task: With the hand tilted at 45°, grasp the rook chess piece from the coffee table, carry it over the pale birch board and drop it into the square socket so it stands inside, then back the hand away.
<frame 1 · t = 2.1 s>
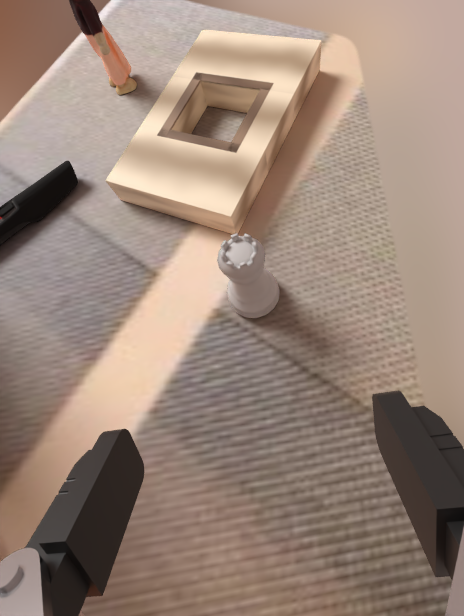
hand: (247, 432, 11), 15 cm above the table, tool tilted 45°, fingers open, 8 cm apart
socket board: (221, 134, 35), on the table
rook chess piece: (254, 296, 28), on the table
grandmother figurine: (122, 83, 42), on the table
electric trimmer: (28, 221, 37), on the table
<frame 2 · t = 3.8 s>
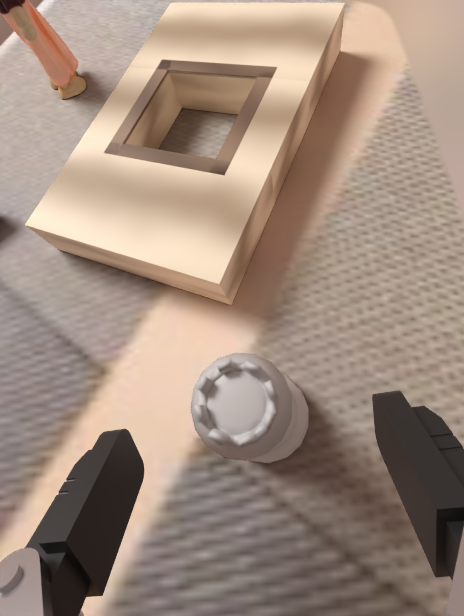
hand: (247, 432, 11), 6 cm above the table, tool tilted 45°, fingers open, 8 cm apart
socket board: (202, 147, 24), on the table
rook chess piece: (265, 414, 17), on the table
grandmother figurine: (68, 84, 31), on the table
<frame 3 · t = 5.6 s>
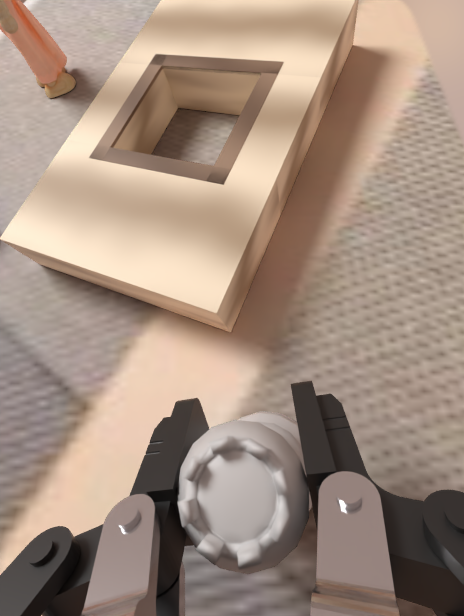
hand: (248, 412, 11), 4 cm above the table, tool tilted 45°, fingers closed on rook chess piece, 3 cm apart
socket board: (200, 151, 22), on the table
rook chess piece: (269, 464, 14), on the table, touching gripper
grandmother figurine: (56, 81, 29), on the table
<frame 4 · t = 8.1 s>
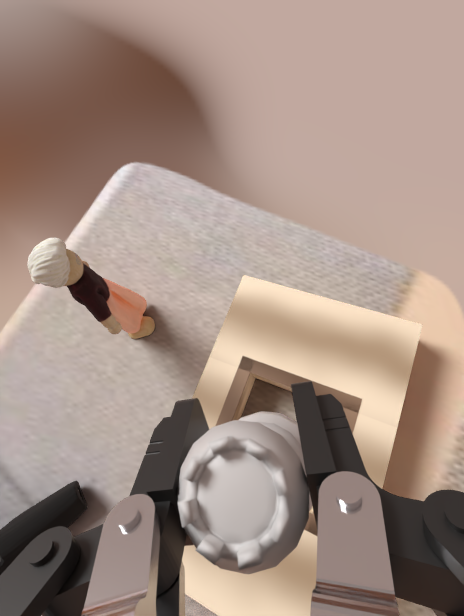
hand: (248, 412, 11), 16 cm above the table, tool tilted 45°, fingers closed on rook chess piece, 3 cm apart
socket board: (281, 436, 25), on the table
rook chess piece: (269, 464, 14), point 11 cm above the table, touching gripper
grandmother figurine: (135, 316, 32), on the table
electric trimmer: (18, 543, 27), on the table
when the fingers open (7 cm above the table, at t = 11.0 s): rook chess piece drops 3 cm, resting in socket board.
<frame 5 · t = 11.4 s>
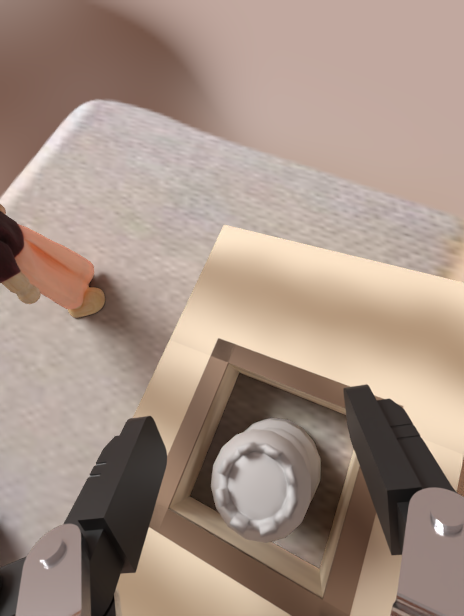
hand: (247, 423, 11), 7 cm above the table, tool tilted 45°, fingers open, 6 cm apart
socket board: (274, 459, 17), on the table
rook chess piece: (277, 462, 17), resting in socket board
grandmother figurine: (80, 287, 24), on the table
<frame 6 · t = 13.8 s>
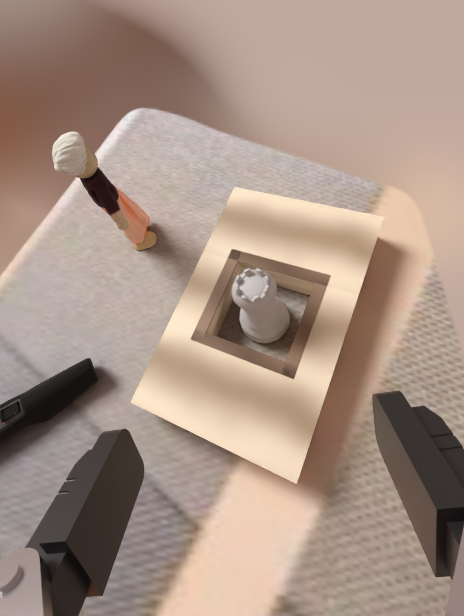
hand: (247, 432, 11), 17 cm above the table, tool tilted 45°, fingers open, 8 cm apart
socket board: (264, 319, 30), on the table
rook chess piece: (265, 321, 30), resting in socket board
grandmother figurine: (139, 232, 36), on the table
electric trimmer: (36, 409, 32), on the table
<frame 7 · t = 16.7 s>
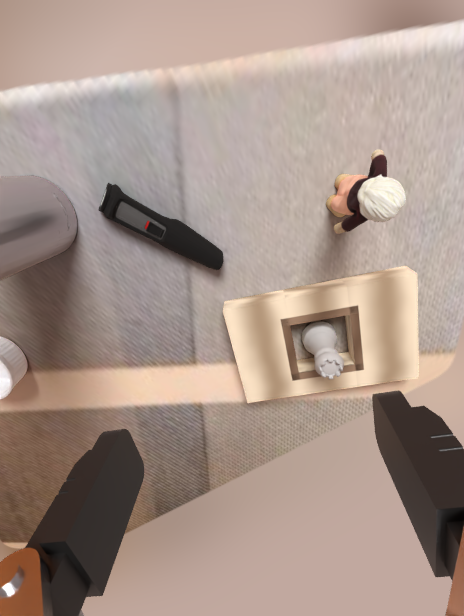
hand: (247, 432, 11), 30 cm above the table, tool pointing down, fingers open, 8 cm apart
socket board: (318, 333, 42), on the table
rook chess piece: (317, 334, 43), resting in socket board
grandmother figurine: (344, 190, 35), on the table
electric trimmer: (164, 225, 38), on the table
ramekin: (3, 356, 47), on the table
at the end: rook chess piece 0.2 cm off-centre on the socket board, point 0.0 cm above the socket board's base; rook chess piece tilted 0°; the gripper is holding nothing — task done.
